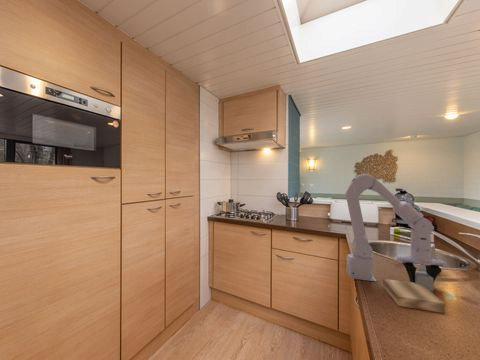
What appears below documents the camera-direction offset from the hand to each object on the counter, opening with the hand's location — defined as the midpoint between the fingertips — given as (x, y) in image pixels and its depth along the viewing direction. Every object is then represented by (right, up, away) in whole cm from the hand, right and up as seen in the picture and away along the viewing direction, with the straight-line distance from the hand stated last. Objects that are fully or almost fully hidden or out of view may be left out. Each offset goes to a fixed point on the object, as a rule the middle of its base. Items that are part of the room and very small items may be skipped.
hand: (421, 283), depth 74 cm
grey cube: (0, -1, 0) cm, 1 cm away
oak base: (-11, -1, -7) cm, 13 cm away
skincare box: (+15, -2, +13) cm, 20 cm away
